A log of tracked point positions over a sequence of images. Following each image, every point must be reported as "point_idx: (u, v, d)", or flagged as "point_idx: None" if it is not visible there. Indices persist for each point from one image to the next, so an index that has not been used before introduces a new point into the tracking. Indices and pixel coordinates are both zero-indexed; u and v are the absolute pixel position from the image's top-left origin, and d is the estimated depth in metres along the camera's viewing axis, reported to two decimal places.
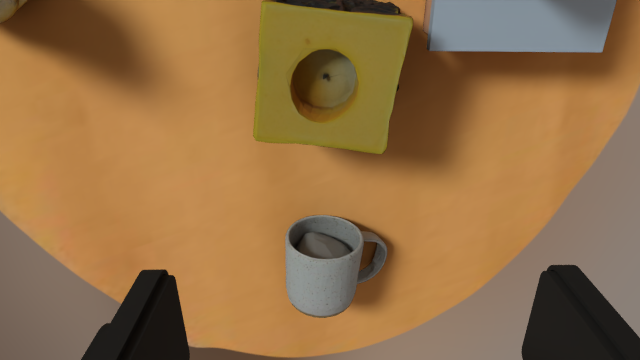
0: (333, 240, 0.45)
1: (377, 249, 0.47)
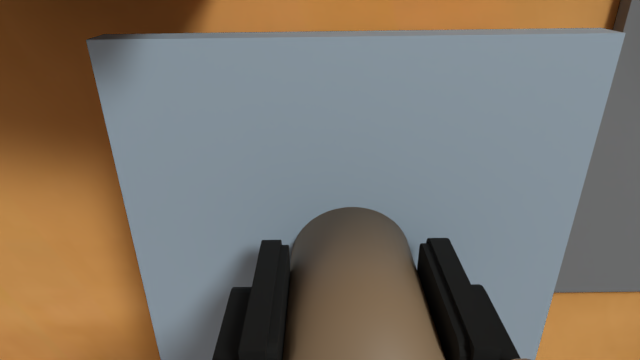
0: None
1: None
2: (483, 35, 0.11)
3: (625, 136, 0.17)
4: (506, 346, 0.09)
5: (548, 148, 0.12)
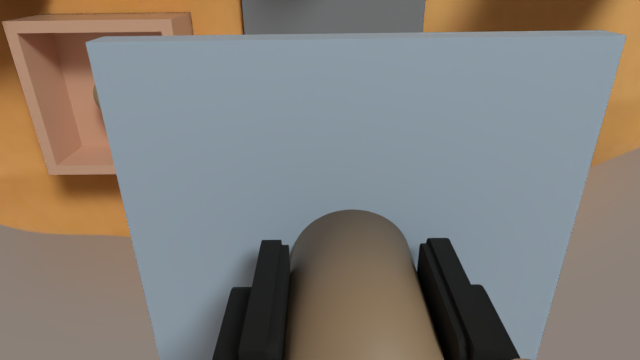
0: None
1: None
2: (484, 38, 0.11)
3: None
4: (506, 346, 0.09)
5: (549, 151, 0.12)
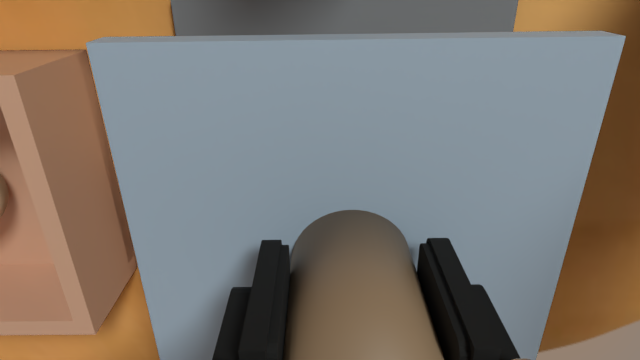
0: None
1: None
2: (483, 38, 0.11)
3: None
4: (506, 346, 0.09)
5: (548, 151, 0.12)
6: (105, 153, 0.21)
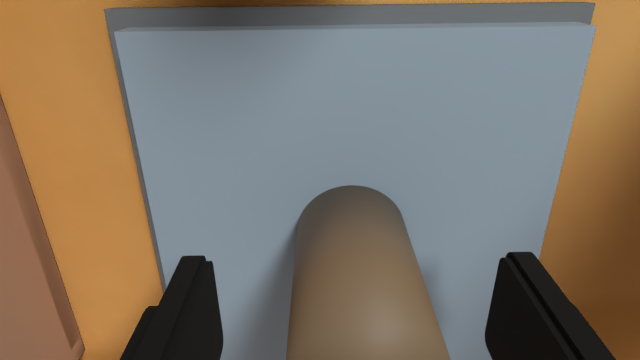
0: None
1: None
2: (469, 28, 0.12)
3: None
4: None
5: (529, 131, 0.13)
6: (31, 217, 0.16)
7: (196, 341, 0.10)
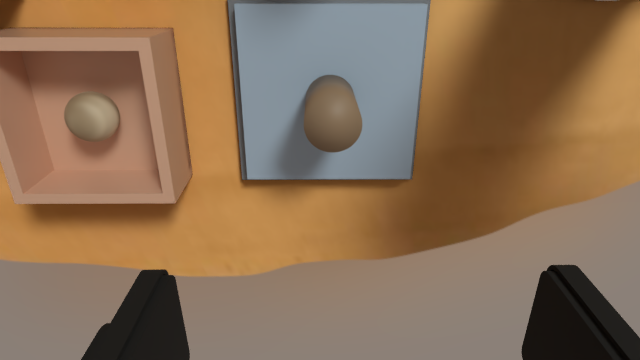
0: None
1: None
2: (377, 4, 0.30)
3: None
4: None
5: (405, 49, 0.31)
6: (179, 94, 0.33)
7: None
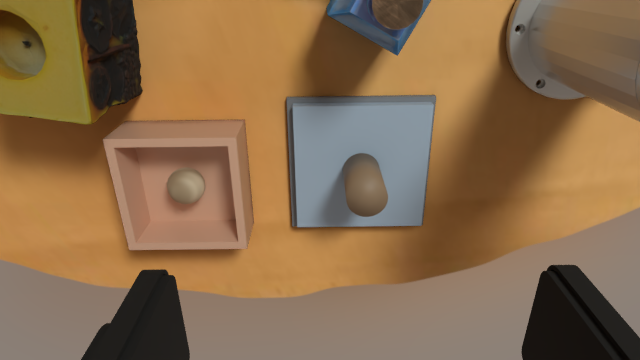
0: None
1: None
2: (396, 105, 0.41)
3: None
4: None
5: (417, 135, 0.42)
6: (248, 165, 0.44)
7: None
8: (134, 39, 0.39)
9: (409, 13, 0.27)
